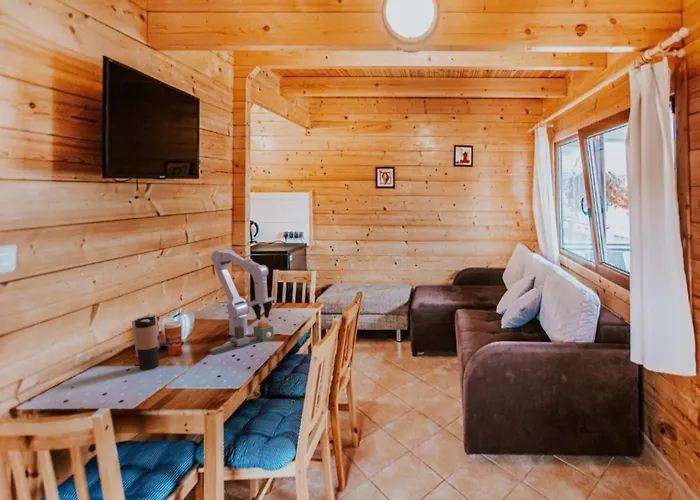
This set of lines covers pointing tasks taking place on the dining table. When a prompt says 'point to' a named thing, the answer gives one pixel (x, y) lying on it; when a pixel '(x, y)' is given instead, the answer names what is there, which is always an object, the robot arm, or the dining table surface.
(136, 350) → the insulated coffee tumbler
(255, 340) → the rail
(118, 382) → the dining table surface
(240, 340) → the carriage
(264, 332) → the cabinet
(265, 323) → the button
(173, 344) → the paper cup
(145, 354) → the travel mug
